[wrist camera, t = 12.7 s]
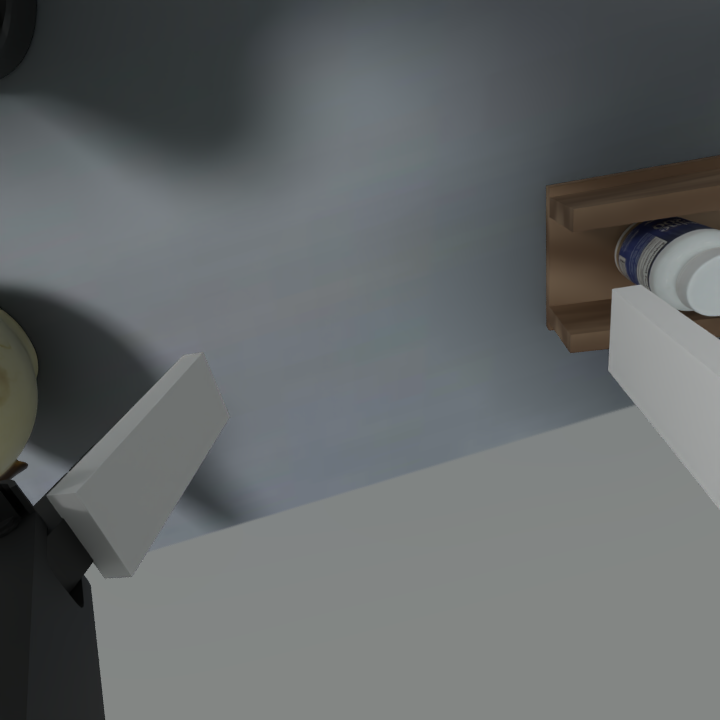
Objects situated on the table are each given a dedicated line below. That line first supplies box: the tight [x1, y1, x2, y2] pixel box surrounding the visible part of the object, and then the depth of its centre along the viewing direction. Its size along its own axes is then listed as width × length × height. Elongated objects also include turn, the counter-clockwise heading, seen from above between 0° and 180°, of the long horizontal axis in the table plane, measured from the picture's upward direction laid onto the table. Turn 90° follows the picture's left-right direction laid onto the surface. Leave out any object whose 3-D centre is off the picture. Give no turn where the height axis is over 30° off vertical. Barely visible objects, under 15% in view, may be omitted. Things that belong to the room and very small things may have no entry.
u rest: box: [546, 155, 720, 353], centre depth 33 cm, size 12×13×7 cm
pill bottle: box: [615, 216, 720, 316], centre depth 31 cm, size 5×5×10 cm
